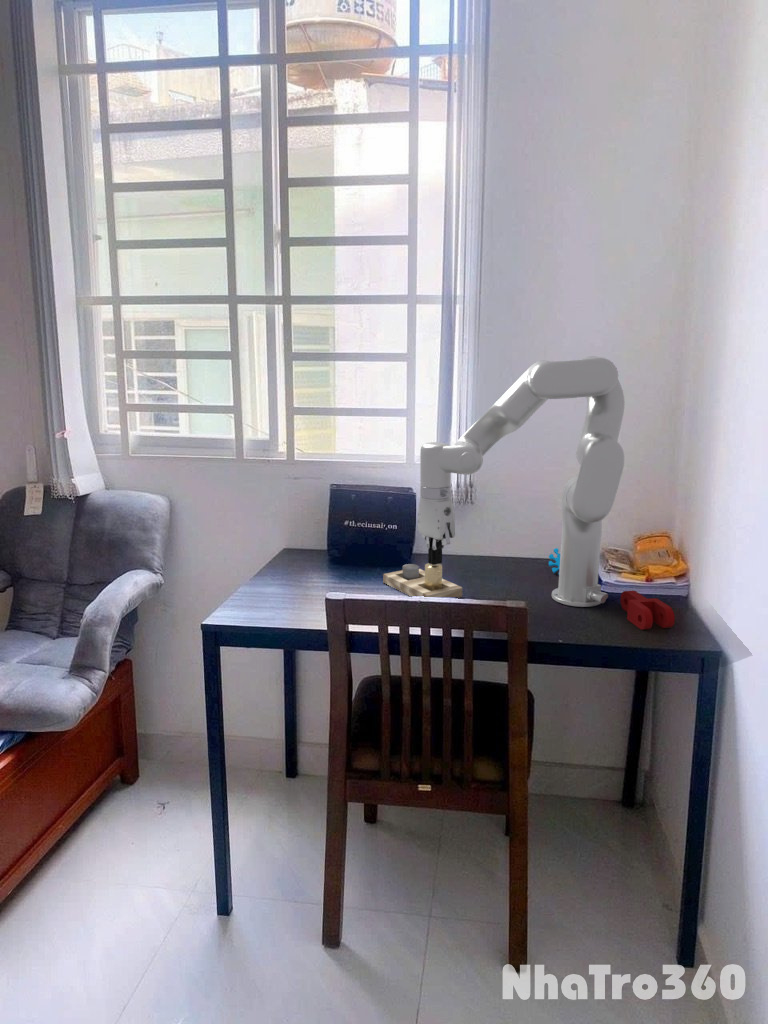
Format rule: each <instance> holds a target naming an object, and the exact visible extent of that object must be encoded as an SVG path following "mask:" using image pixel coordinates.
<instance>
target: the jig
mask: <svg viewBox="0 0 768 1024" xmlns="http://www.w3.org/2000/svg"><path fill="white" fill-rule="evenodd" d="M382 576H383V577H382V582H383V584H384V583H385V585H386V584H387V585H386V586H388V585H389V586H388V587H390V586H391V588H392V587H393V589H394V588H396V589H397V590H396V589H395V590H396V591H398V590H399V591H398V592H400V591H401V593H402V592H403V594H404V593H406V594H408V595H409V596H408V595H407V596H408V597H410V596H424V597H458V598H462V597H463V587H462V586H460V585H458V584H456V583H453V582H451V581H448V580H447V579H444V578H442V589H439V590H434V591H429V590H427V589H425V569H424V570H423V569H422V568H420V566H419V565H417V564H414V563H408V564H407V563H406V564H404V565H402V569H401V570H396V571H392V572H386V573H383V574H382ZM406 594H405V595H406ZM458 598H457V599H458Z"/></svg>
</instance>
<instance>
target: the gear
mask: <svg viewBox="0 0 768 1024" xmlns="http://www.w3.org/2000/svg"><path fill="white" fill-rule="evenodd" d="M553 553H555V554H556V557H555V556H554V554H553ZM553 553H550V554H549V556H548V558H549V559H550V560H549V561H548V567H552V568H551V570H552V574H556V573H557V571H558V575H559V569H560V552H559V548H558V547H557V548H556V547H555V548H554V549H553ZM552 560H553V561H555V562H553V561H552ZM554 566H555V567H554Z"/></svg>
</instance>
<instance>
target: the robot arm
mask: <svg viewBox="0 0 768 1024" xmlns="http://www.w3.org/2000/svg"><path fill="white" fill-rule="evenodd" d="M616 366H617V365H616V364H614V362H613V361H611V360H610V359H607V358H606V357H599V356H586V357H584V358H581V359H576V360H575V359H573V360H562V361H561V360H560V361H553V360H552V361H550V360H538V361H535V363H533V364H531V365H530V366H529V367H528V368H527V369H526V370H525V371H524V372H523V373H522V374H521V375H520V377H519V378H517V380H515V382H514V383H513V384H511V386H510V387H509V388H508V389H507V390H506V391H505V392H504V393H503V394H502V395H501V396H500V397H499V398H498V399H497V401H495V402H494V403H493V404H492V405H491V406H490V407H489V408H488V409H487V410H486V411H485V412H484V414H483V415H481V416H480V417H479V418H478V419H476V421H475V422H474V423H473V424H472V425H471V426H470V427H469V428H468V429H467V430H466V431H465V432H464V434H462V435H461V437H460V438H459V439H458V440H457V441H456V442H455V443H454V444H453V445H450V444H449V443H446V442H440V441H439V442H437V441H435V442H432V441H431V442H425V443H423V444H421V446H420V454H419V455H420V456H419V457H420V459H419V461H420V463H419V464H420V468H419V469H420V471H419V473H420V476H419V477H420V482H419V483H420V486H419V487H420V488H419V489H420V493H419V494H420V495H419V496H420V497H419V503H418V512H417V514H418V515H417V526H418V527H417V528H418V532H419V533H420V536H421V537H422V538H423V539H424V540H425V543H426V548H427V551H428V552H427V553H428V554H427V555H428V557H427V564H428V563H429V564H432V565H435V564H442V562H443V549H444V547H445V546H448V545H451V539H452V538H455V535H456V518H455V510H454V503H453V499H451V498H452V496H451V491H452V490H451V489H452V486H451V485H452V483H451V481H452V474H457V475H464V476H467V475H468V476H469V475H473V474H475V473H477V472H478V471H480V470H481V468H482V466H483V463H484V456H485V454H486V453H487V452H489V451H490V450H491V448H492V447H493V446H494V445H496V444H497V443H498V442H499V441H500V440H501V439H503V438H504V437H506V436H508V435H509V434H511V433H514V432H516V431H517V430H518V429H520V428H521V427H523V425H524V424H526V422H527V421H528V420H530V418H531V417H532V416H533V415H534V414H535V412H537V411H538V410H539V409H540V408H541V406H543V405H544V404H545V403H546V402H547V401H548V400H561V399H562V400H563V399H564V400H565V399H575V398H576V399H577V398H586V404H587V405H586V411H585V417H584V422H583V426H582V429H581V434H580V438H579V440H578V443H577V447H576V451H575V455H576V460H577V462H578V464H579V465H580V467H579V468H580V469H579V472H578V475H575V476H573V477H571V478H570V479H569V480H568V481H567V482H566V483H565V485H564V487H563V491H562V497H561V511H562V512H561V513H562V514H561V516H562V517H561V518H562V519H561V522H562V523H561V539H560V552H559V554H560V569H559V570H558V573H559V574H558V584H557V585H558V587H557V588H555V589H553V590H552V591H551V598H552V599H553V600H554V601H555V602H557V603H559V604H563V605H566V606H570V607H578V608H579V607H580V608H584V607H585V608H589V607H595V606H598V605H601V604H604V603H605V602H606V601H607V599H608V598H609V594H608V593H606V592H603V591H602V585H601V584H599V573H600V572H599V571H600V570H599V569H600V556H601V543H602V542H601V541H602V531H603V530H602V528H603V527H602V526H603V520H604V519H605V518H606V517H607V516H608V515H609V514H610V512H611V511H612V508H613V506H614V503H615V500H616V497H617V493H618V489H619V486H620V482H621V478H622V474H623V470H624V466H625V452H624V449H623V447H622V445H621V444H620V443H619V442H618V440H619V435H620V432H621V428H622V427H621V426H622V422H623V417H624V413H625V396H624V390H623V388H622V385H621V382H620V380H619V371H618V368H617V367H616ZM450 538H451V539H450Z"/></svg>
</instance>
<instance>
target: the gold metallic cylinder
mask: <svg viewBox="0 0 768 1024" xmlns="http://www.w3.org/2000/svg"><path fill="white" fill-rule="evenodd" d="M424 571H425V589H427V590H429V591H434V590H439V589H442V579H443V564H442V563H440V564H435V565H432V564H429V563H428V562H427V563H425V564H424Z"/></svg>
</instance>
